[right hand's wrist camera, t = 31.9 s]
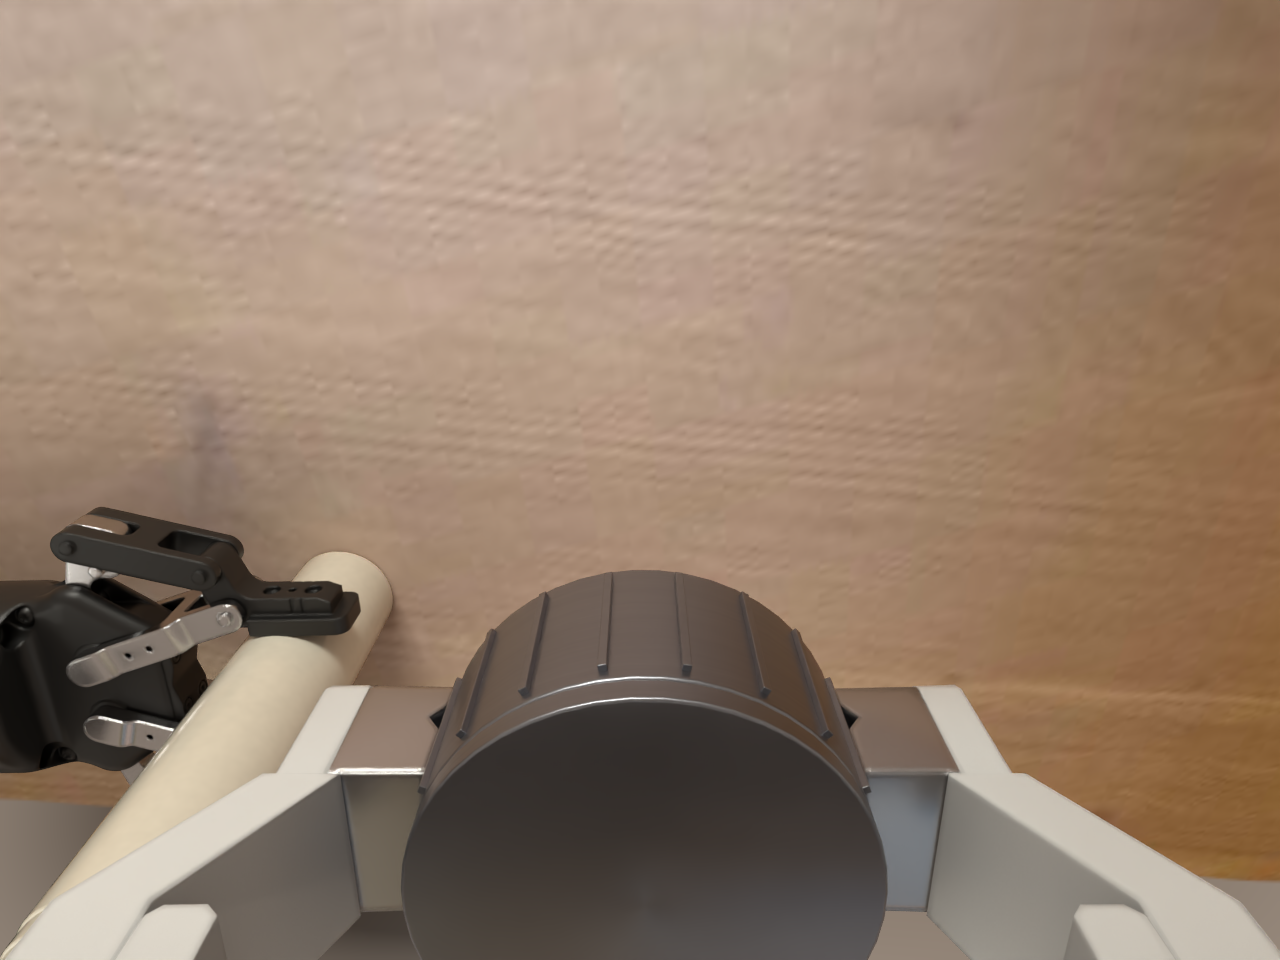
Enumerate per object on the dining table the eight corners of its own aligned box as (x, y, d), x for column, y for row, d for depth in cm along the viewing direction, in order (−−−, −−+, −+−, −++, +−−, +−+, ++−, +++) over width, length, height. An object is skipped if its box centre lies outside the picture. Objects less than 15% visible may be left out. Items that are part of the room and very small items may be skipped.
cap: (591, 942, 11) (579, 1138, 9) (366, 692, 10) (288, 848, 8) (905, 785, 10) (977, 960, 8) (705, 488, 9) (726, 598, 7)
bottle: (277, 568, 41) (-268, 1215, 16) (366, 538, 40) (-59, 1160, 16) (323, 648, 42) (-112, 1349, 18) (409, 620, 42) (84, 1303, 17)
